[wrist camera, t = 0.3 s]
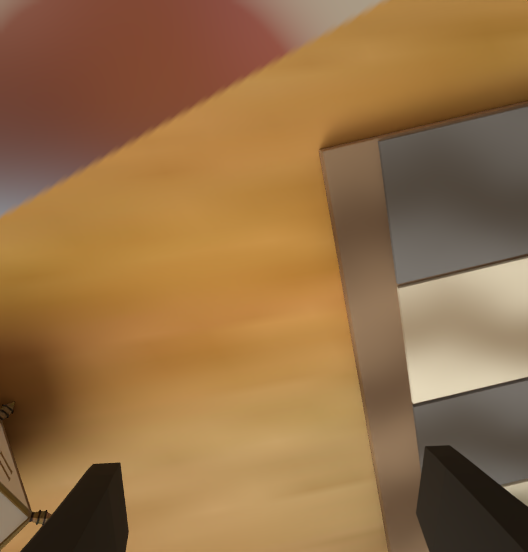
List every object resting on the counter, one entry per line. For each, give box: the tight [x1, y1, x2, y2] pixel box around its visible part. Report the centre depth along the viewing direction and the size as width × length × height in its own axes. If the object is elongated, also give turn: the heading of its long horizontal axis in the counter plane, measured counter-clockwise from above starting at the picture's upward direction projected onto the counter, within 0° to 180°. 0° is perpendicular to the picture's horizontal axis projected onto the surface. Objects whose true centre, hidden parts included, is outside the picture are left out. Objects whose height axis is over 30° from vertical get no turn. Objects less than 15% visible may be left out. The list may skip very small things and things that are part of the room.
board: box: [319, 101, 528, 552], centre depth 22 cm, size 24×10×1 cm, turn 12°
